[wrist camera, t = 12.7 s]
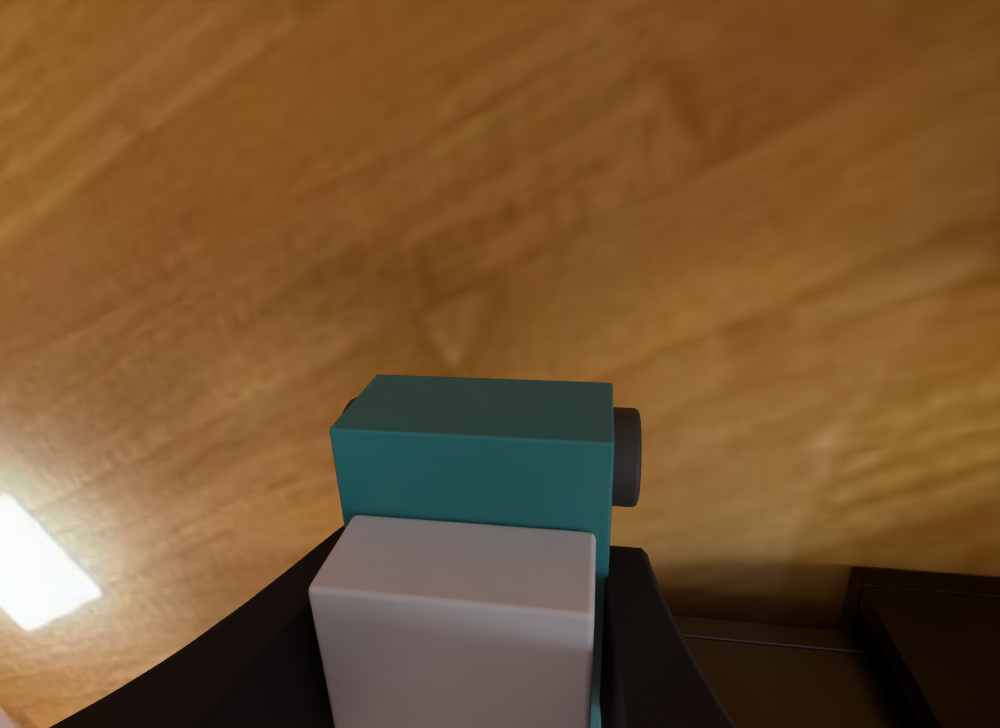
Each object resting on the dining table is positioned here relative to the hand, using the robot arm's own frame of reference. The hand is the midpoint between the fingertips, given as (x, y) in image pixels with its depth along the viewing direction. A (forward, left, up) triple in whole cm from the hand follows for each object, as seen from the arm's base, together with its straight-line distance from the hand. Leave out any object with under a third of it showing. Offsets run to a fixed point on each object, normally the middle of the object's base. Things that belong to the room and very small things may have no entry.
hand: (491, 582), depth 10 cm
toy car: (0, 0, -1) cm, 1 cm away
